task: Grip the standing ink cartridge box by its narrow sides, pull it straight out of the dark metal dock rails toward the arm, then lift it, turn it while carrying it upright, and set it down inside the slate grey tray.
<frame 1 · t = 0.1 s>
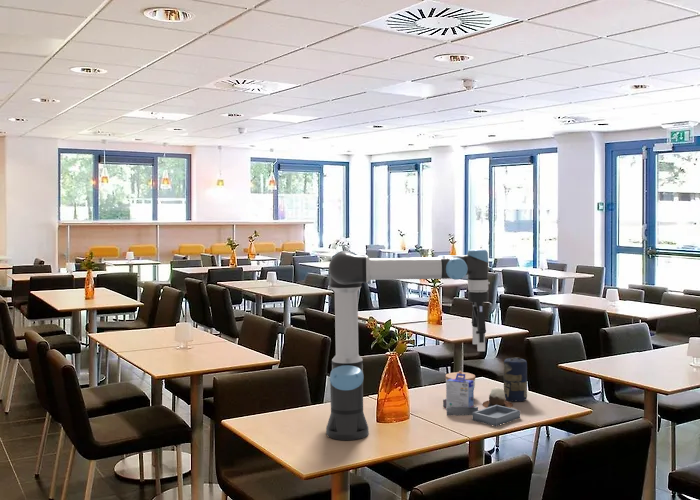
hand: (478, 347, 260), 28 cm above the table, tool pointing down, fingers open, 13 cm apart
canister: (515, 400, 290), on the table
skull: (497, 406, 282), on the table
dock rails: (460, 410, 276), on the table
ink cartridge box: (460, 411, 276), on the table
tray: (496, 419, 263), on the table
lidded bowl: (460, 397, 297), on the table
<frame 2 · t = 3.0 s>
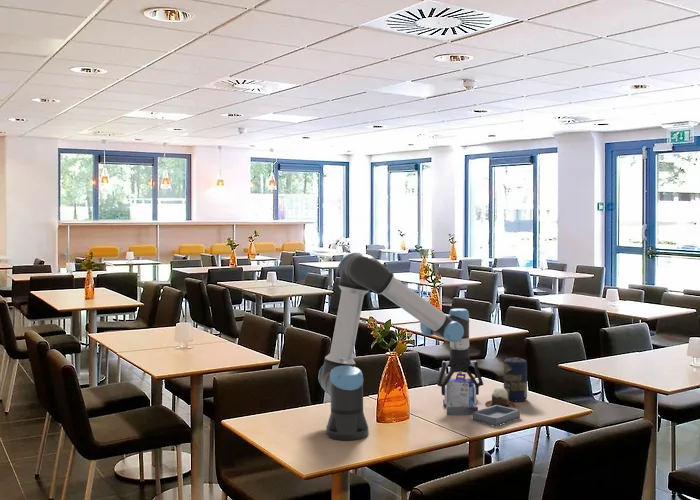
hand: (460, 403, 275), 3 cm above the table, tool pointing down, fingers closed on ink cartridge box, 11 cm apart
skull: (500, 406, 282), on the table
ink cartridge box: (460, 411, 276), on the table, touching gripper
everything else where it was.
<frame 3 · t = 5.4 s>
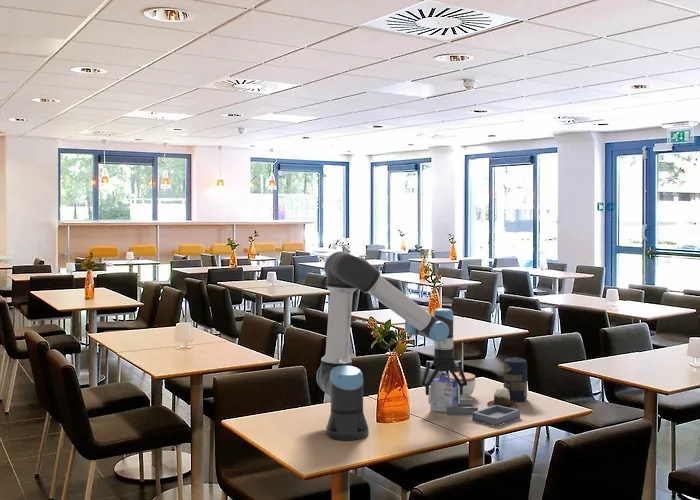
hand: (444, 403, 275), 3 cm above the table, tool pointing down, fingers closed on ink cartridge box, 11 cm apart
ink cartridge box: (444, 411, 276), on the table, touching gripper
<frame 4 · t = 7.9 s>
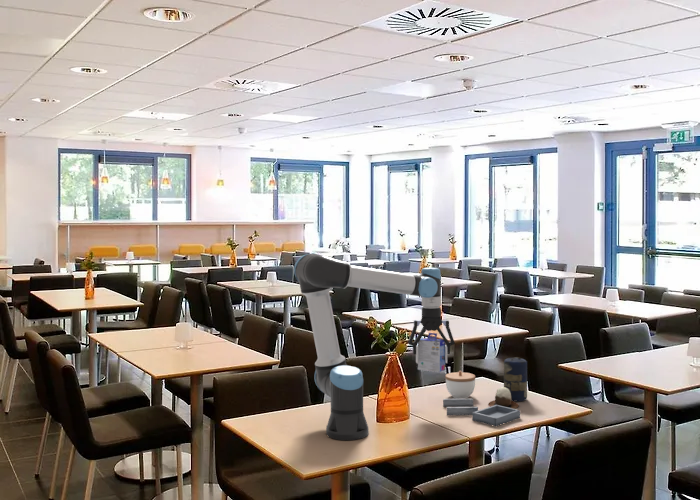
hand: (431, 362, 275), 19 cm above the table, tool pointing down, fingers closed on ink cartridge box, 11 cm apart
ink cartridge box: (431, 370, 275), point 16 cm above the table, touching gripper
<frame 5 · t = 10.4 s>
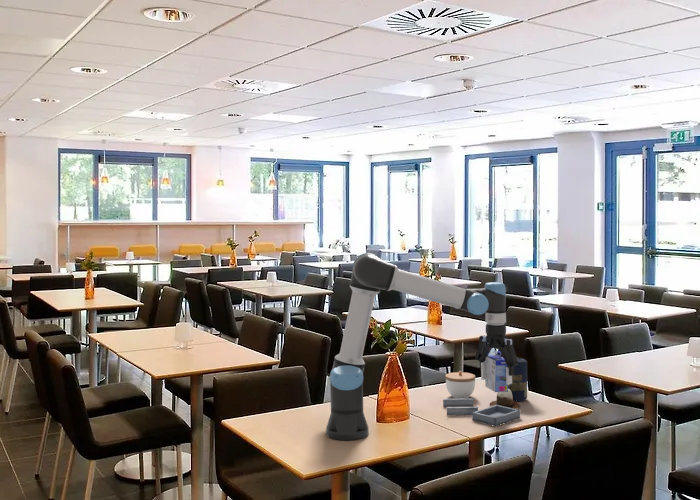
hand: (496, 381, 263), 14 cm above the table, tool pointing down, fingers closed on ink cartridge box, 11 cm apart
ink cartridge box: (496, 389, 263), point 11 cm above the table, touching gripper
when the fingers open (6 cm above the table, at t = 12.4 s): ink cartridge box stays where it is, resting on tray.
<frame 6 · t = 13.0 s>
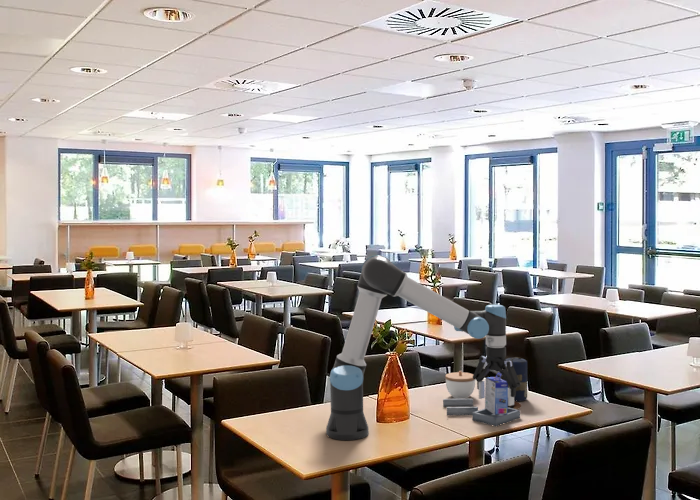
hand: (496, 401, 263), 7 cm above the table, tool pointing down, fingers open, 13 cm apart
ink cartridge box: (496, 411, 263), point 3 cm above the table, touching tray
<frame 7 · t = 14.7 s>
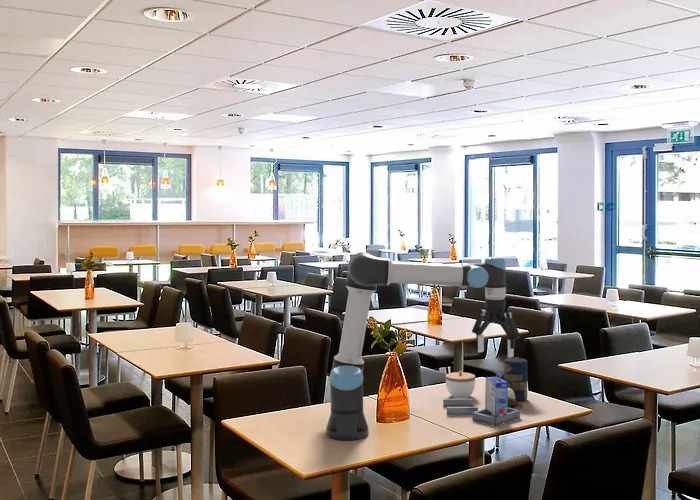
hand: (495, 354, 262), 25 cm above the table, tool pointing down, fingers open, 13 cm apart
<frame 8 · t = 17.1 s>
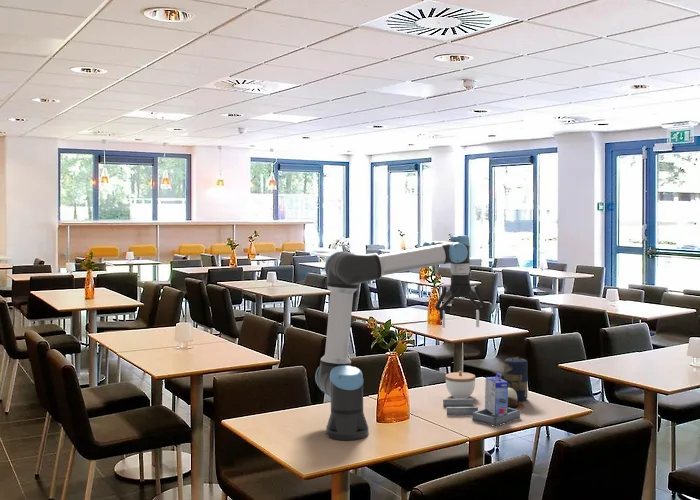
hand: (460, 327, 278), 33 cm above the table, tool pointing down, fingers open, 13 cm apart
at the end: ink cartridge box 0.1 cm off-centre on the tray, point 2.8 cm above the tray's base; ink cartridge box tilted 0°; the gripper is holding nothing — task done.
